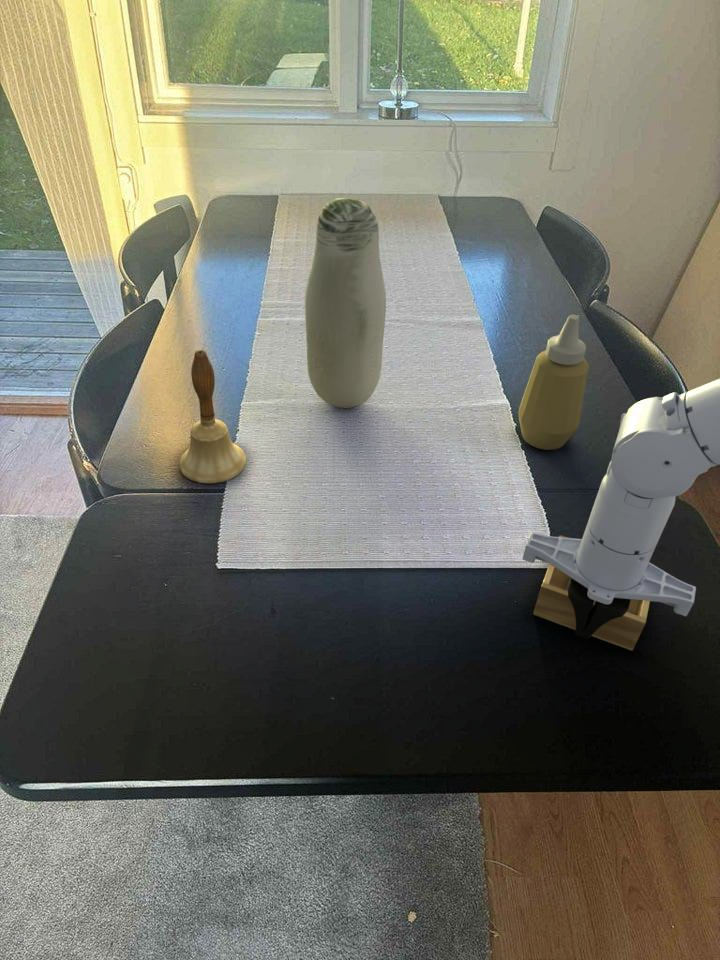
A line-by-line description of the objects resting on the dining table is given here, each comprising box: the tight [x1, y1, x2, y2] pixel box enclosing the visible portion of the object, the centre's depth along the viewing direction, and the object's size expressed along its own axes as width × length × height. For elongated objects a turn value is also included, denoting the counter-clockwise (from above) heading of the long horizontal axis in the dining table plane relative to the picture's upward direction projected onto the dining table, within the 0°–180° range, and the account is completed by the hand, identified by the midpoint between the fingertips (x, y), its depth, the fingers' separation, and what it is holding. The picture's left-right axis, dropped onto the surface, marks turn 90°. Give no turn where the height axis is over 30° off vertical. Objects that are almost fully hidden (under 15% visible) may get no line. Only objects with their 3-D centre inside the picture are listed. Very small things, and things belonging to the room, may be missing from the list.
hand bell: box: [179, 349, 247, 484], centre depth 83 cm, size 8×8×16 cm
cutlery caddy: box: [532, 534, 651, 652], centre depth 72 cm, size 8×10×4 cm
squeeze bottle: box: [517, 314, 590, 451], centre depth 89 cm, size 8×8×18 cm
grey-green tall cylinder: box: [304, 197, 387, 409], centre depth 91 cm, size 10×10×28 cm
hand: (583, 629), depth 68 cm, fingers closed, pressing on cutlery caddy
